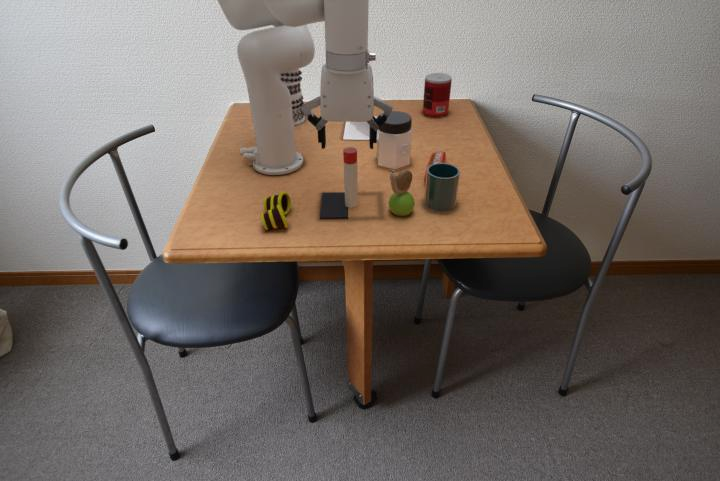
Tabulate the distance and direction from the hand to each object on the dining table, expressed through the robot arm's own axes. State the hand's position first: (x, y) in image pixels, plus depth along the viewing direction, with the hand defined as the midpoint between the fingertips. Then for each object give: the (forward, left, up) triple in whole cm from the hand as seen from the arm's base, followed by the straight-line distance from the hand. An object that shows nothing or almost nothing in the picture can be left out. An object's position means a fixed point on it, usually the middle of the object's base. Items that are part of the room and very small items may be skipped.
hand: (347, 145), depth 96 cm
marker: (+1, -1, -14) cm, 14 cm away
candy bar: (+21, +14, -14) cm, 29 cm away
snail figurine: (+11, -4, -14) cm, 18 cm away
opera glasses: (-15, -5, -14) cm, 22 cm away
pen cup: (+20, 0, -14) cm, 24 cm away
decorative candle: (-18, +48, -14) cm, 53 cm away
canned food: (+26, +52, -14) cm, 59 cm away
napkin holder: (+4, +41, -14) cm, 43 cm away
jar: (+11, +20, -14) cm, 27 cm away
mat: (0, 0, -14) cm, 14 cm away
